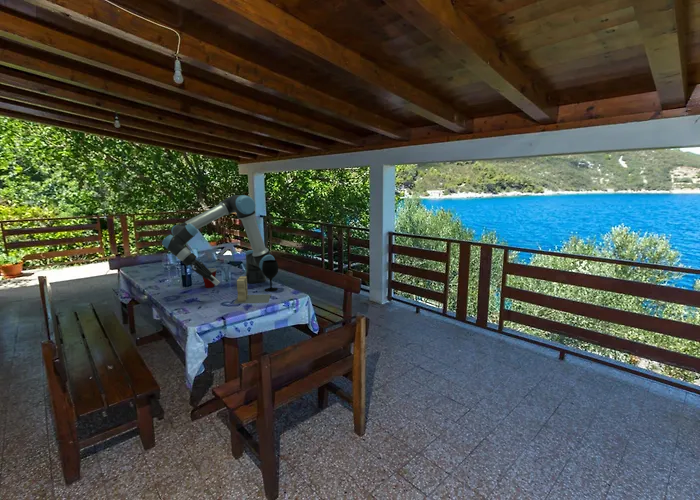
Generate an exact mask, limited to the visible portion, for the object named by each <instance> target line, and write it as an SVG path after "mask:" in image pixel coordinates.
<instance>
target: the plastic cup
mask: <svg viewBox="0 0 700 500" xmlns="http://www.w3.org/2000/svg"><path fill="white" fill-rule="evenodd" d="M207 269H208V270H209V271H210V272H211V273H212V276H214V277H215V278H216V275H217V270H218V269H217V268H215V267H212V268H210V267H209V268H207ZM202 280H203V283H204V286H205V288H206V289H211V288H215V286H216V285H215V284H214V283H212V282H211V281H210V280H209V279H205V278H204V277H202Z"/></svg>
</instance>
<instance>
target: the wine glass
mask: <svg viewBox="0 0 700 500" xmlns="http://www.w3.org/2000/svg"><path fill="white" fill-rule="evenodd" d="M262 271H263V274H264V275H265V276H266V279H267V278H268V279H269V287H267V288H265V289H264V291H265V292H267V293H268V292H276V291H278V292H279V291H280V289H279V288H278V287H273V285H272V284H273V283H272V282H273V279H274V278H275V277H276V276H277V275H278V273H279V263H278V261H277V260H276V259H275V260H265V261H263V265H262Z"/></svg>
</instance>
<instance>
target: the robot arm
mask: <svg viewBox="0 0 700 500" xmlns="http://www.w3.org/2000/svg"><path fill="white" fill-rule="evenodd" d="M255 208H256V202H255V200H254V199H253V198H252V197H251V196H248V195H245V194H241V195H239V194H235V195H234V194H233V195H231V196H229V197H228V198H226V199H223V200H222V201H220V202H219V203H218V204H217V205H216V206H214V207H212V208H209V209H208V210H205V211H204V212H202V213H200V214H198V215H196V216H193V217H191V218H190V219H188V220H186V221H184V222H183V223H180V224H175V225H173V226H172V228H171V234H169V235H167V236H166V237H164V239H163V240H162V242H161V244H162V245H163V247H164V248H165V249H166V250H168V251H169V253H171V254H172V255H174V256H175V257H176V258H177V260H179V261H181V262H182V263H183V264H184V265H185V266H187V267H188V266H190V267H191V271H194V272H195V273H197V274H198V275H199V276H201V277H202V278H203V277H204V278H205V279H209V280H210V281H211V282H212V283H214V284H215V286H216V287H217V286H218V285H219V284H220V283H221V282H220V280H218V279H217V278H216V277H214V276H212V273H211V272H210V271H209V270H208V269H209V268H208V267H207V266H206V265H205V264H204V263H203V262H202V261H199V260H197V256H196V255H195V253H193V252H192V251H191V250H190V249H189V248H188V247H186V246H185V245H186V244H187V243H188V242H190V241H191V240H192V239H194V237H195V236H196V235H197V234H198V233H199V229H201V228H203V227H204V226H208V225H209V224H210V223H213V222H215V221H216V220H218V219H219V218H221V217H224V216H228V215H230V214H234V213H235V214H236V216H237V219H238V220H241V223H242V225H243V228H244V230H245V233H246V236H247V239H248V241H249V243H250V246H251V249H249V250H246V251H245V263H246V273H245V275H244V276H247V284H259V283H260V284H261V283H263V282H266V281H267V277H266V276H265V275H264V274H263V271H262V265H263V261H265V260H276V259H275V257H274V256H273V255H272V254H271V252H270V250H269V248H267V247H266V245H265V242H264V240H263V236H262V234H261V231H260V229H259V226H258V223H257V220H256V218H255V217H256V216H255V215H256V211H255Z"/></svg>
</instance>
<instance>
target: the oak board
mask: <svg viewBox="0 0 700 500" xmlns="http://www.w3.org/2000/svg"><path fill="white" fill-rule="evenodd" d="M236 289H237V297H238V302H245V301H246V299H247V297H248V295H249V293H248V283H247V276H245V275H243V276H239V277H238V279H237V280H236Z"/></svg>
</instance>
